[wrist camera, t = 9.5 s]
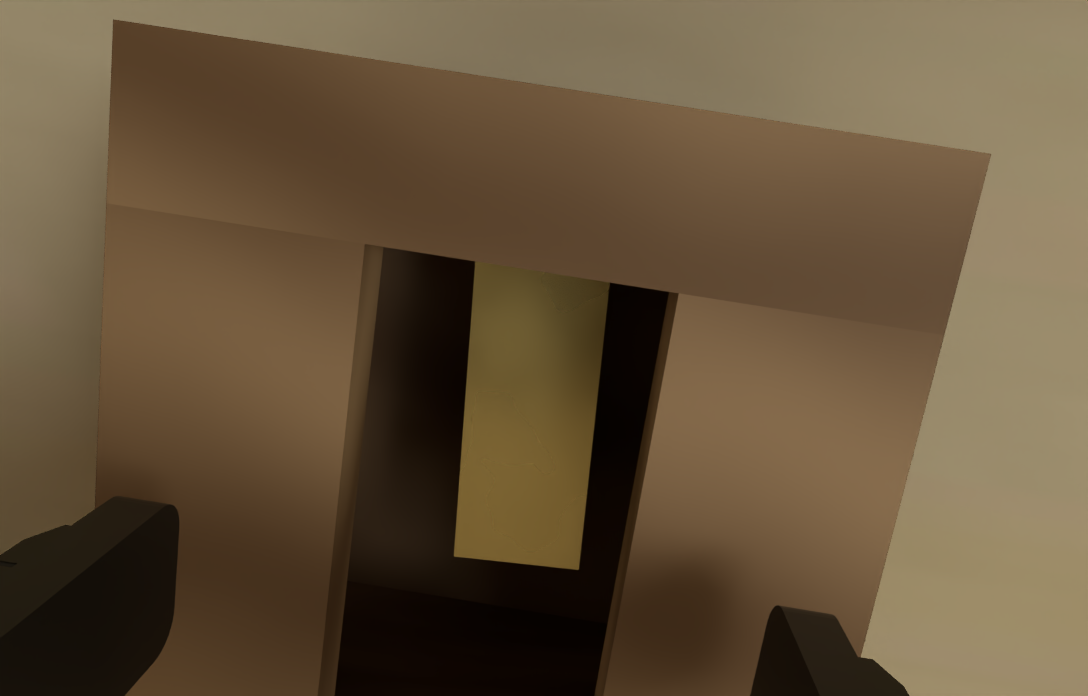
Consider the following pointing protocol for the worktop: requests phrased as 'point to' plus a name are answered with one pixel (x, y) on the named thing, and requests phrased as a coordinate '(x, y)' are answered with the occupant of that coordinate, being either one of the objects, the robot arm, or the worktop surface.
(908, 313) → the box
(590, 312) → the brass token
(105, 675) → the robot arm
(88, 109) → the worktop surface
